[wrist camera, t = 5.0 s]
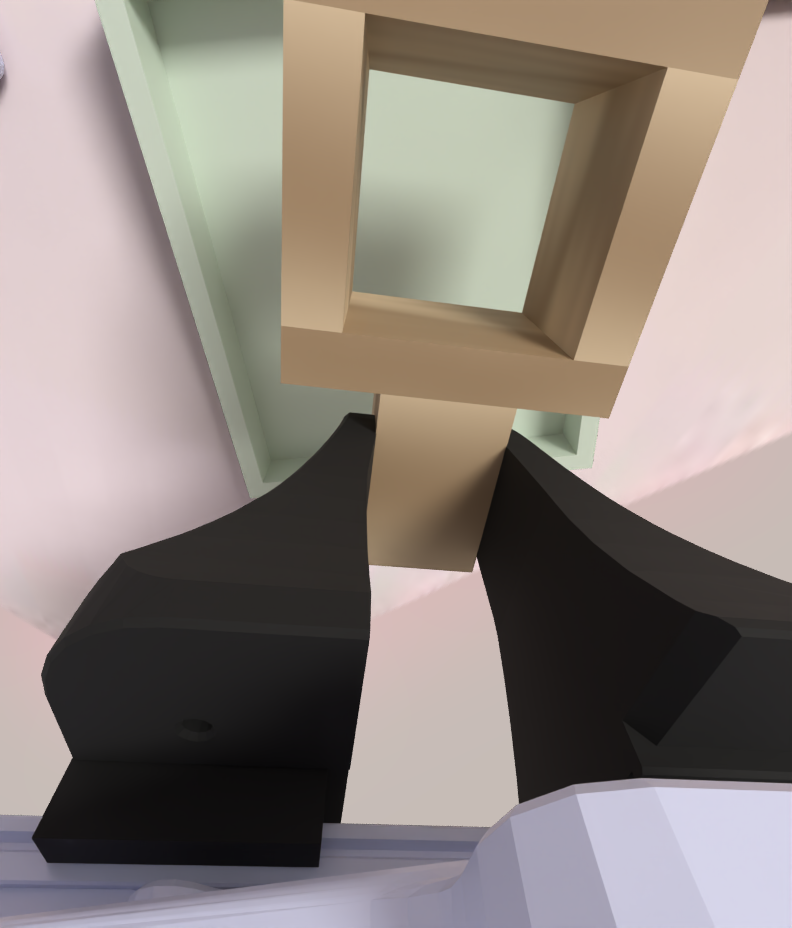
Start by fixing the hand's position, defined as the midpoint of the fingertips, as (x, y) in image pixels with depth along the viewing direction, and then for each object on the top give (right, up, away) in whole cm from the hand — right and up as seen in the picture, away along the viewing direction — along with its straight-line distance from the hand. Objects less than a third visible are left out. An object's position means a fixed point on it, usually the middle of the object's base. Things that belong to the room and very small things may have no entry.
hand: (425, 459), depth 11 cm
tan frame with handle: (0, +4, 0) cm, 4 cm away
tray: (0, +6, +4) cm, 7 cm away
